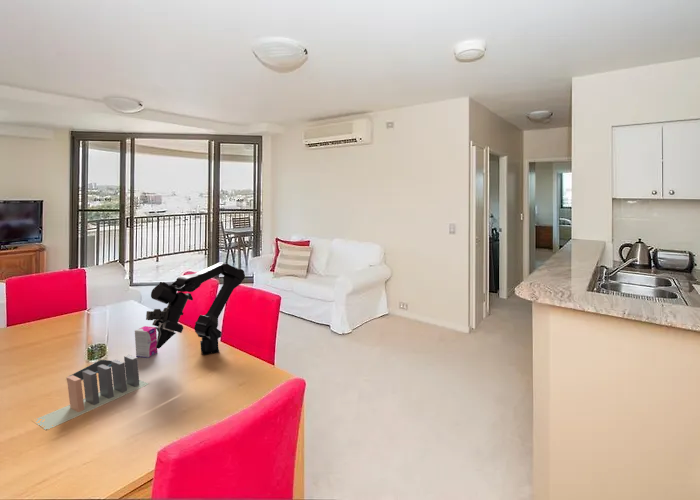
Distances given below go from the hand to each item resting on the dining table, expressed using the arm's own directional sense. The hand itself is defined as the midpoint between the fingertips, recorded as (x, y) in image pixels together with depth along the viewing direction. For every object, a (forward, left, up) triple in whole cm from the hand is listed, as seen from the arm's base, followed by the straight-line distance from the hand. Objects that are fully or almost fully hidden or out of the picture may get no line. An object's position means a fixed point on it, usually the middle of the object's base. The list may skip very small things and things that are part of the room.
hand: (157, 348), depth 137 cm
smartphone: (+23, -13, -10) cm, 29 cm away
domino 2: (+19, +13, -10) cm, 25 cm away
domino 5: (+8, +6, -10) cm, 14 cm away
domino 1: (+22, +16, -10) cm, 29 cm away
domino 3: (+15, +11, -10) cm, 21 cm away
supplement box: (+5, -20, -10) cm, 23 cm away
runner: (+18, +13, -10) cm, 24 cm away
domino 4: (+12, +8, -10) cm, 17 cm away
